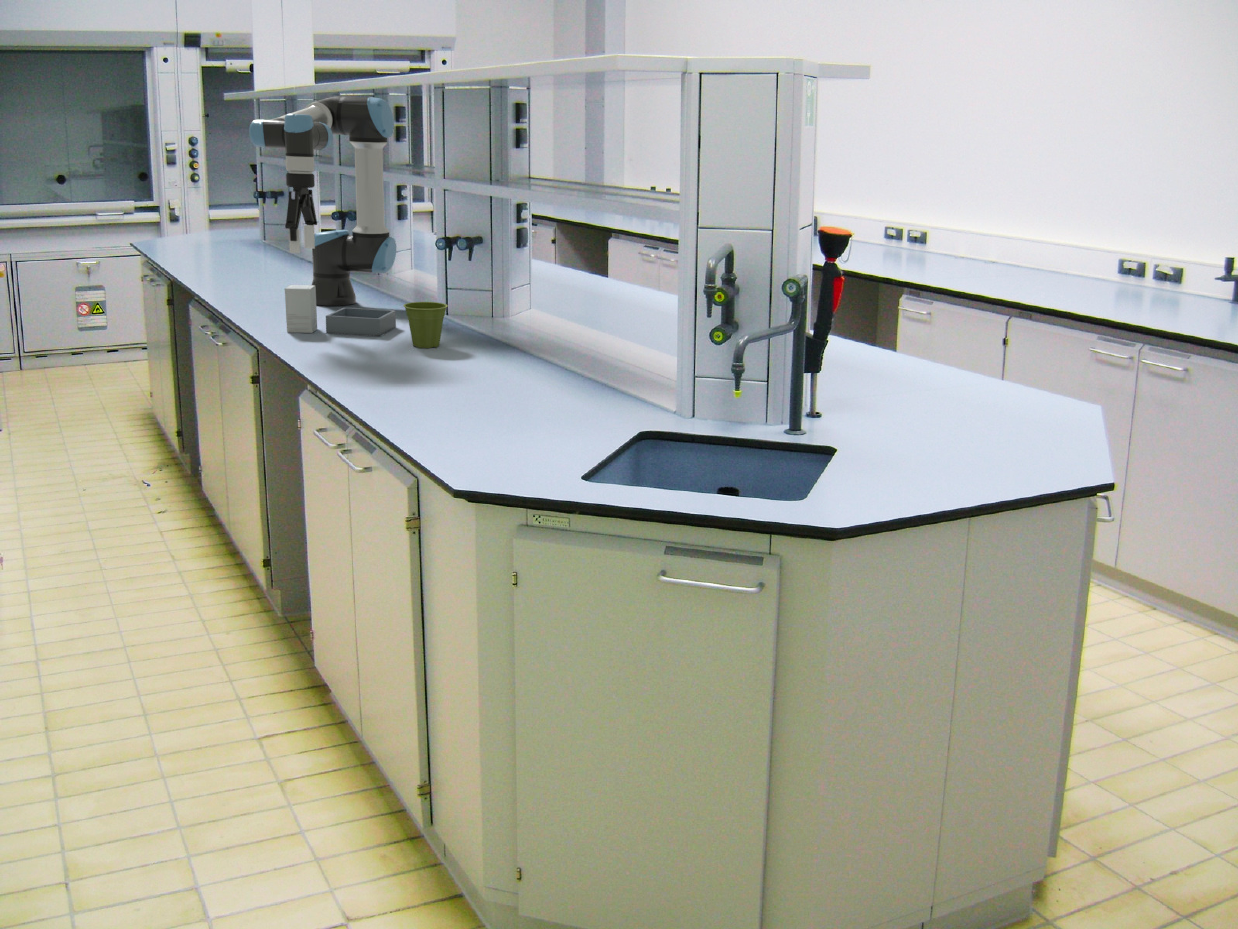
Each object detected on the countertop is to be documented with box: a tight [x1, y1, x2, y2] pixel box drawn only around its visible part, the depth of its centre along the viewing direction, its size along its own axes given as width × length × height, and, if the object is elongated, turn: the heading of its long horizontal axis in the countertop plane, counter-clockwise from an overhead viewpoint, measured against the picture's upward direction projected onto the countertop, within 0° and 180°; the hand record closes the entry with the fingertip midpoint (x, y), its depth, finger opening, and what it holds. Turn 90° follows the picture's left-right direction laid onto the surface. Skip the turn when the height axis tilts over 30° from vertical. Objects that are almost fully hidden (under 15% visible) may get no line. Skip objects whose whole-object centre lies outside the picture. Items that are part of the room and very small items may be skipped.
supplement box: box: [284, 284, 318, 334], centre depth 332 cm, size 7×7×13 cm
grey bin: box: [325, 307, 397, 337], centre depth 338 cm, size 16×16×5 cm
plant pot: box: [402, 301, 449, 349], centre depth 319 cm, size 12×12×11 cm
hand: (302, 250), depth 328 cm, fingers open, 13 cm apart
